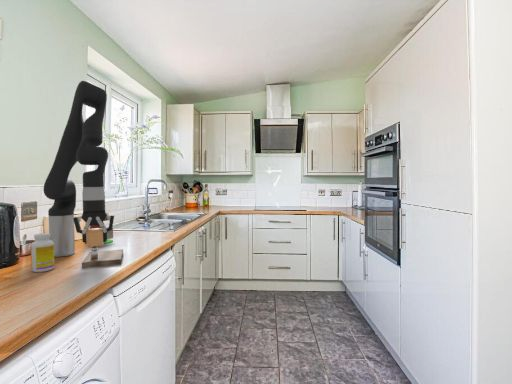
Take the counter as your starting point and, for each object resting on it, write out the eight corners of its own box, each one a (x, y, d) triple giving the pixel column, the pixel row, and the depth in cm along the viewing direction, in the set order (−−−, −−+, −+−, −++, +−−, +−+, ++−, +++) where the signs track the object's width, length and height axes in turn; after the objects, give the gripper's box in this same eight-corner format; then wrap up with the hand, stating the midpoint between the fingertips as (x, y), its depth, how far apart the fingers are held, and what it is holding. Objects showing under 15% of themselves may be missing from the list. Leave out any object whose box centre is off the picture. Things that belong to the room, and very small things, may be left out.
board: (81, 268, 108) (81, 262, 108) (89, 256, 124) (89, 252, 124) (121, 264, 112) (121, 259, 112) (123, 253, 129) (123, 249, 129)
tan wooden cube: (85, 246, 110) (85, 230, 110) (88, 244, 115) (87, 228, 115) (102, 245, 112) (102, 229, 112) (104, 242, 117) (103, 227, 117)
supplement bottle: (59, 268, 108) (58, 233, 107) (40, 273, 102) (39, 236, 101) (45, 266, 110) (45, 232, 110) (27, 271, 104) (26, 235, 103)
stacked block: (84, 242, 154) (83, 214, 153) (109, 239, 162) (109, 212, 162) (90, 246, 145) (89, 215, 145) (117, 242, 154) (116, 213, 153)
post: (90, 259, 112) (90, 247, 112) (91, 258, 114) (91, 245, 114) (97, 258, 113) (97, 246, 113) (98, 257, 115) (98, 245, 115)
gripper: (70, 200, 107) (71, 246, 107) (114, 198, 112) (115, 242, 113) (73, 199, 114) (75, 242, 114) (115, 197, 119) (116, 239, 120)
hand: (95, 242), depth 114 cm, fingers closed on tan wooden cube, 5 cm apart
